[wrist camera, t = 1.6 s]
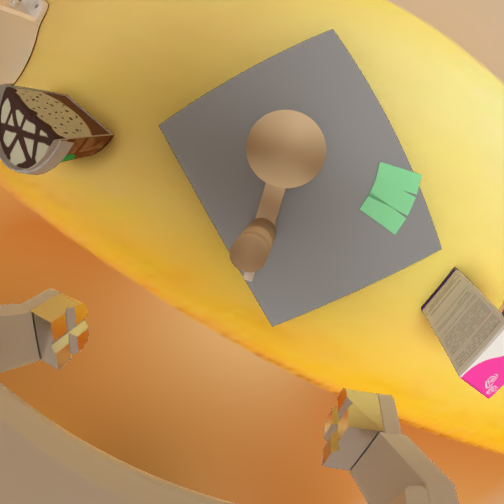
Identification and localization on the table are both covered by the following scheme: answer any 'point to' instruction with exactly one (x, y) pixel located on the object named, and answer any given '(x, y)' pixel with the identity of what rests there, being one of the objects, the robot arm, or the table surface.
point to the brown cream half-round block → (45, 130)
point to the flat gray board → (315, 191)
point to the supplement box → (468, 332)
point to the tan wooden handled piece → (276, 178)
